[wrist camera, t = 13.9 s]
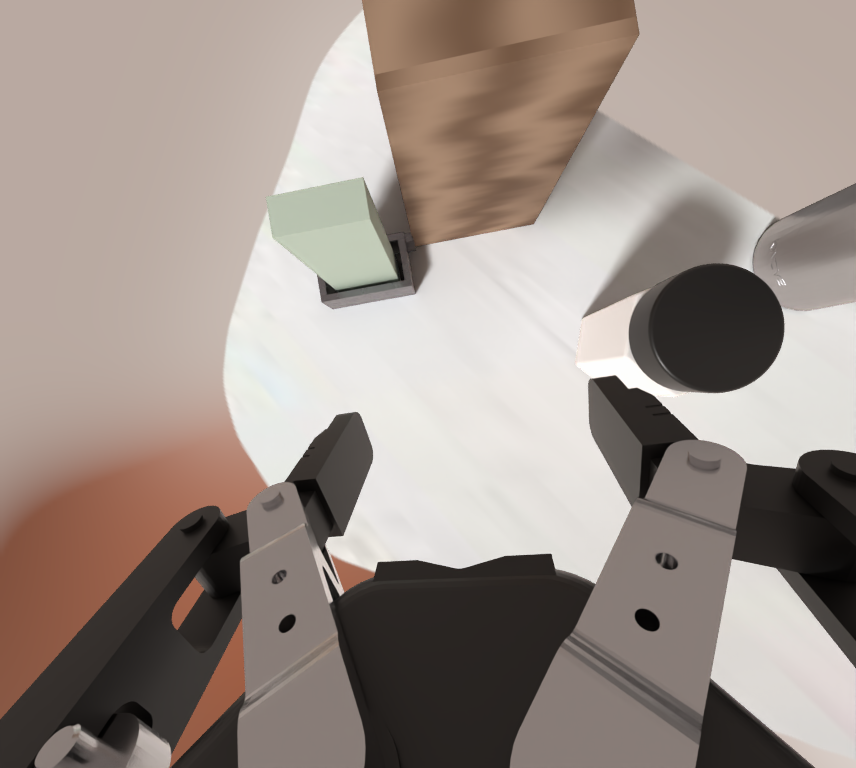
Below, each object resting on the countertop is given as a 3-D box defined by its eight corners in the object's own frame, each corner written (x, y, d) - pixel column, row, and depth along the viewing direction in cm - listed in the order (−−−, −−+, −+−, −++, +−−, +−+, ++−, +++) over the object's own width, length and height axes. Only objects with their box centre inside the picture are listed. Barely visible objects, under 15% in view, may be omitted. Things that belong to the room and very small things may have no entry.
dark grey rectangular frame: (414, 242, 33) (411, 229, 30) (423, 292, 33) (420, 283, 30) (324, 260, 34) (312, 248, 31) (332, 309, 34) (321, 302, 31)
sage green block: (395, 252, 34) (360, 160, 20) (401, 286, 34) (370, 218, 20) (338, 262, 34) (263, 180, 20) (344, 296, 34) (272, 238, 20)
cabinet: (521, 148, 33) (611, -134, 15) (533, 223, 33) (639, 34, 15) (401, 172, 33) (350, -70, 16) (414, 246, 33) (377, 91, 16)
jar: (652, 399, 32) (774, 410, 20) (568, 386, 33) (638, 389, 21) (668, 308, 32) (800, 264, 20) (583, 296, 33) (662, 247, 21)
